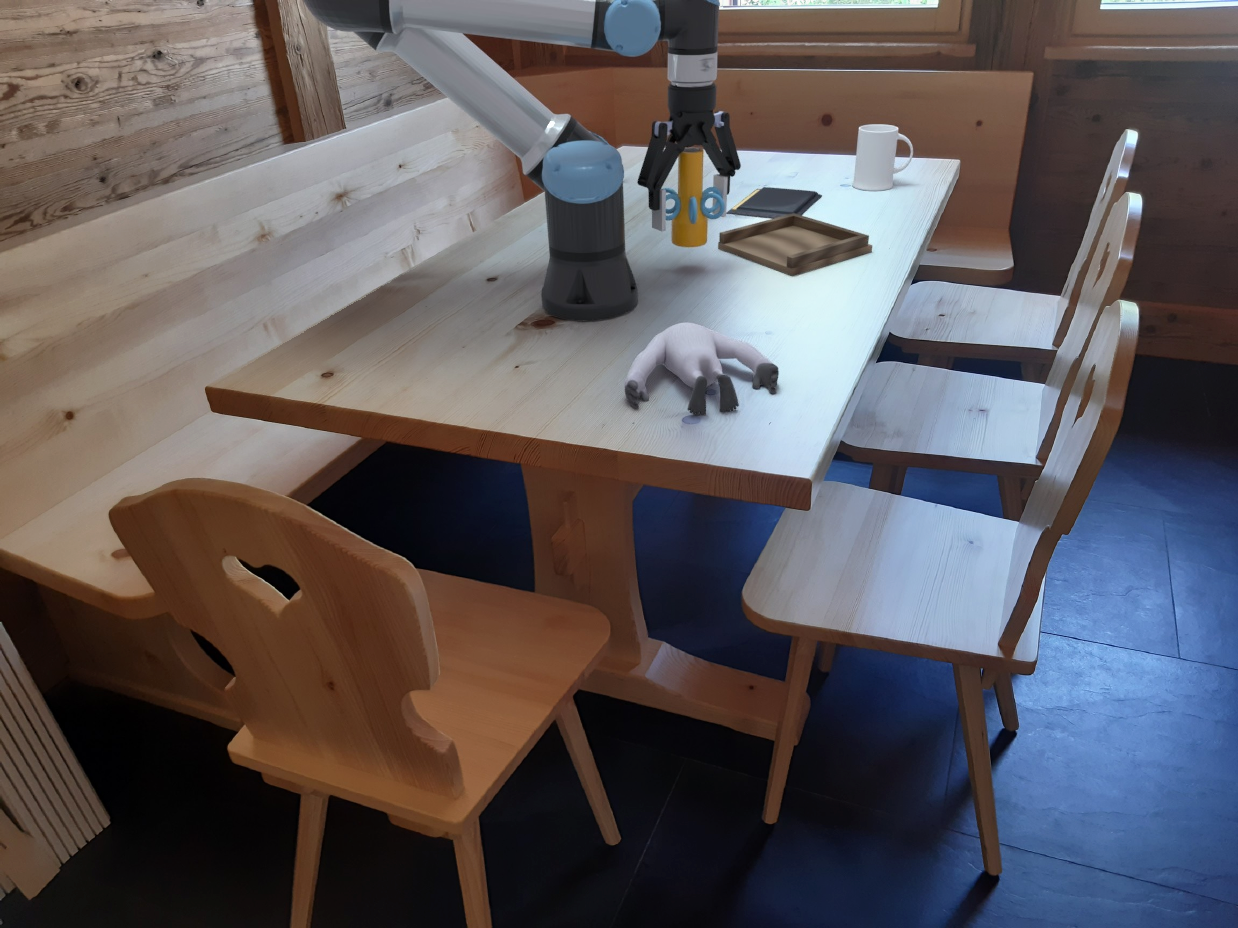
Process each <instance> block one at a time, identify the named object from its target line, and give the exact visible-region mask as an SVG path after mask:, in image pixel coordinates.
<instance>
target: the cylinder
mask: <svg viewBox="0 0 1238 928" xmlns="http://www.w3.org/2000/svg"><path fill="white" fill-rule="evenodd" d="M677 161H678V162H677V192H676V190H674V189H673V188H670V187H662V189H664V190H666V202H667V201H669V200H673V201H674V205H673V207H672V208H666V221H667V222H668V221H671V236H670V238H671V240H670V241H671V243H672V244H673V245H674V246H677V247H681V248H696V247H697V248H698V247H702V246H704V245H706V244H707V243H708V242H707V241H708V226H709V225H708V224H709V222H708V221H709V220H716V219H720V218H721V216H722V214H723V213H724V210H725V204H724V201H723V199H722V196H721V193H720V191H719V190H718V189H717V188H715V187H713V186H710V187H707V188H705V189H704V190H703V188H704V187H703V185H704V183H703V182H704V148H701V147H688V148H687V147H685V149H684V151H683V152H681V153H680V154H679V156H678V158H677ZM713 192H715V193H713ZM713 198H715V199H716V200H717V201H716V204H715V205H714V206H713V205H712V206H711V207H707V206H706V201H708V199H713ZM719 206H720V210H719V212H718V213H717V214H711V213H712V212H714V211H716V210H717V209H718V207H719ZM708 219H709V220H708Z"/></svg>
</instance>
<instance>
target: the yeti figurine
mask: <svg viewBox="0 0 1238 928" xmlns="http://www.w3.org/2000/svg"><path fill="white" fill-rule="evenodd" d="M732 359H733V360H734V359H736V360H737V361H738V362H739V363H740V364H741V365H743V366H744V367H746V368H748V369H750V371H752V372H753V376H752V384H751V385H752V388H753V389H754V390H758V389H759V388H760V387H761V385H762V386H763V387H765V388H766V389H767V391H768V392H769V393H770V394H772V395H774V394H776V393H777V392H776V390H777V388H776V387H777V385H778V379H779V374H780V373H779V371H780V370H779V367H778V365H776V364H774V363H773V362H772V361H771V360H769V358H767V357H766V356H764V355H763V353H762V352H760V351H759V350H758V349H757V348H756V347H755V346H753V345H752V344H750V343H749V342H747V341H742V340H737V339H734V338H731V337H729V336H727V335H724V334H722V333H721V332H718V331H716V330H713V329H710V328H707V327H706V326H703V325H700V324H697V323H693V322H681V323H680V322H679V323H676V324H673V325H671V326H668V327H667V328H666V329H665V330H663V331H661V332H659V333H658V334H656V335H655V336H654V337H653V338H652V339H651V341H649V343H648V344H647V345H646V347H645V349H643V351H641V352H640V353H639V352H638V355H637V356H636V357H635V359H634V360H633V362H632V364H631V366H630V367H629V369H628V373H627V374H626V376H625V377H626V378H625V380H624V394H625V396H626V399H627V401H628V403H629V406H630V407H631V409H632V410H638V409H639V408H640V407H639V406H640V405H639V404H640V400H639V398H640V399H641V401H642V402H646V403H647V402H649V401H650V396H649V393H648V391H647V388H646V386H645V385H646V381H647V378H648V377H649V376H650V375H651V373H653V371H654V370H655V368H656V366H657V365H663V366H664V367H665V368H666V369H667V370H669V371H670V372H672V374H674V375H675V376H677V377H678V378H679V379H680V380H681V381H682V382H683V383H684V385H686V386H687V387H689V388H691V389H692V391H691V395H690V399H689V401H688V406H687V411H688V412H689V413H690V414H692V415H693V416H696V417H698V416H706V415H707V400H706V394H707V393H706V392H707V387H710V386H711V385H712V384H714V383H717V385H718V388H719V393H720V394H719V396H720V397H719V413H720V414H723V413H726V412H727V413H730V412H734V410H737V409H738V407H739V406H740V405H739V404H740V403H739V400H738V396H737V392H736V388H735V386H734V383H733V380H732V378H731V377H730V376H729V374H723V367H722V364H721V362H720V360H732Z"/></svg>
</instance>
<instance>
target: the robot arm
mask: <svg viewBox="0 0 1238 928" xmlns="http://www.w3.org/2000/svg"><path fill="white" fill-rule="evenodd" d="M302 1H303V3H304V5H305V7H306V8H307V10H308V11H309V12H310V13H311V15H312V16H313V17H314V18H315V19H316V20H318V21H319V22H320V23H321V24H323V25H324V26H326V27H328V28H330V29H333V30H335V31H340V32H346V33H349V32H350V33H351V32H353V34H355V35H356V36H358V38H360V39H361V40H362V41H363V42H365V43H366V44H367V45H369V46H370V47H371V48H372V49H373V50H375V51H376V53H386V52H391V53H394V54H395V55H397V56H398V57H399V58H400V59H401V60H402V61H404V62H405V63H406V64H407V65H409V66H410V67H411V68H412V69H414V71H416V72H417V73H418V74H419V75H420V76H421V77H422V78H424V79H425V80H426V81H427V82H428V83H430V84H431V85H433V87H435V88H436V89H437V90H438V91H440V92H441V93H442V94H443V95H444V96H445V97H447V98H448V99H449V100H450V101H451V102H453V103H454V104H455V105H456V106H457V107H459V108H460V110H462V111H463V112H464V113H466V114H467V115H468V116H469V117H470V118H471V119H473V120H474V121H475V122H476V123H478V124H479V125H480V126H481V127H483V128H484V129H485V130H486V131H487V132H488V133H489V134H491V135H492V136H493V137H495V139H497V140H498V142H500V143H501V144H503V146H505V147H506V148H507V149H508V150H510V151H511V152H512V153H513V154H514V155H516V156H517V157H518V158H519V159H520V161H521V166H522V167H521V168H522V173H523V175H525V176H526V177H527V178H528V179H529V180H531V181H532V183H534V184H535V185H536V186H538V187H539V188H540V189H541V190H542V191H543V192H544V202H545V213H546V215H545V216H546V227H547V239H548V240H547V241H548V251H549V252H548V253H549V259H548V263H547V267H546V272H545V275H544V281H543V285H542V288H541V294H540V295H541V305H542V309H543V310H544V312H546V313H547V314H549V315H550V316H552V317H555V318H558V319H562V320H567V321H568V320H569V321H575V322H576V321H578V322H579V321H582V322H585V321H588V322H589V321H590V322H591V321H603V320H607V319H613V318H616V317H619V316H622V315H624V314H628V313H629V312H632V311H633V310H634V309H635V308H636V307H637V305H638V303H639V288H638V284H637V282H636V279H635V276H634V274H633V273H634V272H633V271H632V268H631V265H630V263H629V260H628V257H627V253H626V233H625V232H626V230H625V204H624V203H625V202H624V199H625V197H624V178H625V169H624V168H625V167H624V164H623V159H622V156H621V153H620V151H618V149H617V148H615V147H614V146H613V145H610V144H609V143H608V141H607V140H606V139H604V137H602V136H600V135H599V134H598V135H597V134H596V132H595V133H594V132H592V131H590V130H588V129H587V128H586V127H584V126H583V124H581V123H580V122H579V121H578V120H576V119H575V118H574V117H573V116H572V115H571V114H569V113H560V114H557V113H553V112H552V111H551V110H550V109H549V108H548V107H547V106H545V105H544V104H543V103H542V102H541V101H540V100H539V99H537V98H536V97H535V96H534V95H533V94H532V93H531V92H530V91H528V89H526V88H525V87H524V86H523V85H522V84H520V83H519V82H518V81H517V80H516V79H515V78H513V76H511V75H510V74H509V73H508V72H507V71H506V70H505V69H503V67H501V65H499V64H498V63H497V62H495V61H494V60H493V58H491V57H489V55H487V53H486V52H484V51H483V50H482V49H481V48H480V47H478V46H477V45H476V44H475V43H474V42H472V40H470V39H469V38H468V37H467V36H466V35H464V34H467V35H475V36H484V37H493V38H501V39H508V40H509V39H510V40H517V41H518V40H519V41H527V42H536V43H543V44H553V45H561V46H571V47H579V48H588V49H595V50H600V51H607V52H616V53H617V54H619V55H620V56H622V57H632V58H633V57H634V58H635V57H639V56H642V55H645V54H647V53H648V52H649V51H650V50H652V49H653V47H654V46H655V45H656V43H657V42H663V41H666V42H667V45H668V46H667V80H668V81H669V82H671V83H670V84H669V85H668V86H667V108H668V111H669V117H668V120H667V121H658V120H654V121H652V123H651V137H650V140H649V143H648V146H647V150H646V153H645V156H644V159H643V162H642V166H641V169H640V172H639V175H638V179H637V180H636V181H637V183H636V184H637V185H638V186H640V187H643V188H647V190H648V208H649V210H651V228H652V229H653V230H657V231H660V232H665V231H666V225H667V224H666V223H667V222H666V221H667V220H666V215H667V214H666V209H667V204H666V203H667V201H666V195H667V193H666V190H664V189H663V186H664V184H665V183H666V180H667V179H668V176H669V175H670V172H671V171H672V169H673V167H674V165H675V164H676V162H677V161H678V156H679V154H680V153H681V152H683V151H684V149H685V148H693V147H695V146H701V147H702V149H703V151H704V152H705V153H706V155H707V157H708V158H709V160H710V161H711V163H712V165H713V167H714V168H715V170H716V171H717V173H716V174H713V178H712V179H713V180H712V181H713V182H712V183H713V184H712V187H715V188H717V189H718V190H719V191H720V193H721V196H722V199H723V201H724V204H725V210H724V213H723V214H722V216H721V217H722V218H726V217H727V214H726V213H727V205H728V204H727V202H728V195H730V192H731V177H732V178H733V177H734V176H736V171H739V170H740V169H741V167H742V165H741V161H740V157H739V154H738V150H737V147H736V143H735V141H734V137H733V133H732V130H731V125H730V124H731V123H730V122H731V121H730V118H731V115H730V113H729V112H726V111H722V110H716V111H714V110H715V109H716V106H717V89H718V87H717V85H716V83H714V81H716V79H717V78H718V76H717V75H718V53H719V52H718V50H719V49H718V48H719V47H718V45H719V23H720V21H719V20H720V5H721V2H720V0H302ZM713 127H714V131H715V134H716V136H715V135H714V133H713V132H712V129H713ZM716 138H717V139H716ZM717 140H718V144H719V145H718V144H717ZM712 193H715V192H712ZM716 201H717V200H716V199H715V198H712V207H713V206H714V205H715V204H716ZM719 210H720V206H719V207H718V209H717V210H716V211H714V212H712V214H717V213H718V212H719ZM721 217H720V218H721Z"/></svg>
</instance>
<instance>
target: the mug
mask: <svg viewBox="0 0 1238 928" xmlns="http://www.w3.org/2000/svg"><path fill="white" fill-rule="evenodd" d="M857 132H858V134H857V141H856V142H857V144H856V153H855V155H856V157H855V165H854V173H853V174H854V175H853V181H852V183H851V184H852V185H851V186H852V187H853V188H855V189H857V190H861V191H865V192H866V191H868V192H879V191H880V192H881V191H888V190H890V189H892V188H893V187H894V174H898V173H899V172H902V171H904V170H905V169H906V168H907V167H908V166H909V165H910V163H911V162H912V159H913V155H914V148H913V144H912V142H911V141H910V139H909V138H908V137H907V136H906V135H904V134H901V133H900V132H899V127H898V126H896V125H890V124H884V123H883V124H878V123H877V124H876V123H875V124H873V123H872V124H864V125H860V126H859V127H858V131H857ZM898 140H899V141H903V142H906V144H907V145H908V147H909V149H910V154H909V157H908V160H907V161H906V163H904V164H903V165H901V166H899V167H895V163H896V156H897V155H896V154H897V153H896V152H897V147H898Z"/></svg>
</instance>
